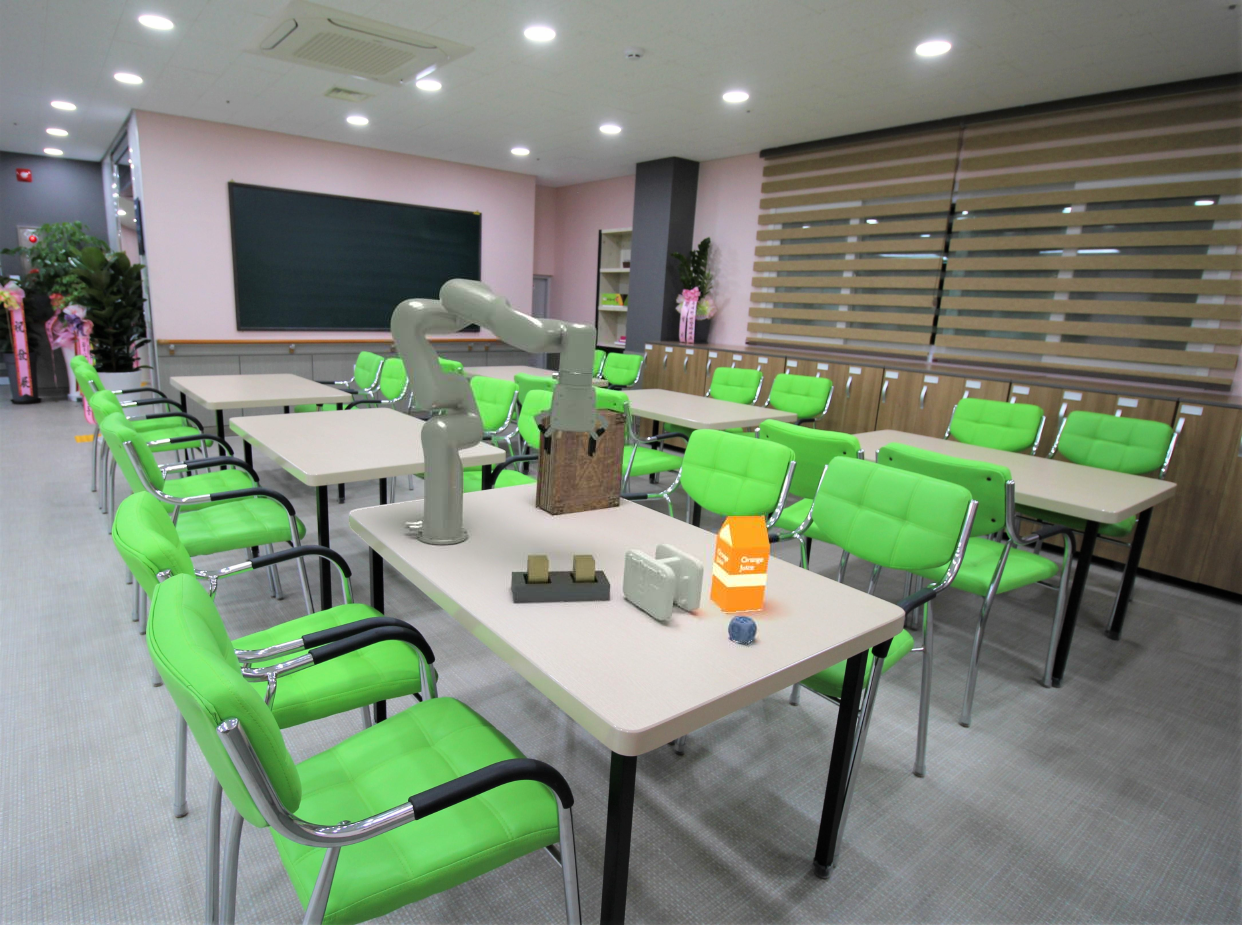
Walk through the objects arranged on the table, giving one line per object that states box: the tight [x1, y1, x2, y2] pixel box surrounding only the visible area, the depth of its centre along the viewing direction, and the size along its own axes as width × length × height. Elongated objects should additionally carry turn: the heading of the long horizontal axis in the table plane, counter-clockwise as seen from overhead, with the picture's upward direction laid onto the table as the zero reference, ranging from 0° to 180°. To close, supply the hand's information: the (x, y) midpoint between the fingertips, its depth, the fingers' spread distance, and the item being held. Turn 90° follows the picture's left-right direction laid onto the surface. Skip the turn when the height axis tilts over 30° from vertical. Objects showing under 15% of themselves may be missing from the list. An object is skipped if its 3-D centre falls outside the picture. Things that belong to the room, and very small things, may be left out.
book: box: [535, 408, 628, 517], centre depth 206 cm, size 25×9×30 cm, turn 128°
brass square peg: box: [571, 554, 596, 583], centre depth 144 cm, size 4×4×8 cm
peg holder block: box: [510, 554, 611, 604], centre depth 143 cm, size 20×8×8 cm, turn 103°
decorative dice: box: [727, 615, 758, 644], centre depth 129 cm, size 4×4×4 cm
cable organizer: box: [622, 543, 705, 621], centre depth 140 cm, size 15×11×12 cm
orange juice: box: [709, 515, 771, 612], centre depth 143 cm, size 8×9×20 cm
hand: (569, 454), depth 154 cm, fingers open, 9 cm apart
